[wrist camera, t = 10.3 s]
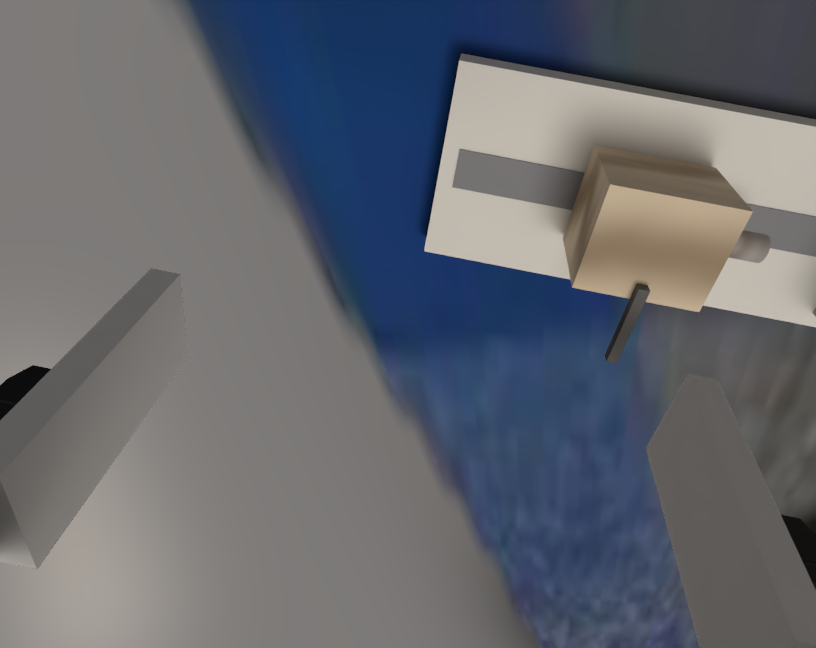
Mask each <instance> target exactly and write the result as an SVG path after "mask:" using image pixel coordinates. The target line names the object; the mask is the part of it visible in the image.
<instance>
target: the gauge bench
mask: <svg viewBox="0 0 816 648" xmlns="http://www.w3.org/2000/svg"><path fill="white" fill-rule="evenodd" d="M594 145H597V146H603V147H608V148H613V149H619V150H624V151H629V152H634V153H640V154H645V155H650V156H656V157H661V158H666V159H671V160H677V161H682V162H687V163H693V164H698V165H703V166H709V167H714V168H717V169H718V171H719V172H720V173H721V174H722V175H723V177H724V178H725V179H726V180H727V181H728V182H729V184H730V185H731V186H732V187H733V188H734V190H735V191H736V192H737V193H738V194H739V195H740V197H741V198H742V199H743V200H744V201H745V203H746V204H747V205H748V206H749V207H750V208H751V210H752V211H753V213H752V215H751V217H750V218H749V220H748V222H747V224H746V226H745V228H744V230H745V231H750V232H756V233H761V234H766V235H768V236H769V237H770V240H771V245H770V250H769V252H768V254H767V256H766V258H765V259H764V260H763V261H762V262H760V263H754V262H749V261H744V260H739V259H734V258H728V259H727V261H726V263H725V265H724V267H723V269H722V271H721V272H720V274H719V276H718V278H717V280H716V282H715V284H714V285H713V287H712V289H711V291H710V293H709V295H708V297H707V299H706V300H705V302H704V304H703V305H704V306H709V307H715V308H720V309H725V310H730V311H735V312H740V313H745V314H751V315H756V316H761V317H766V318H771V319H776V320H781V321H787V322H792V323H797V324H802V325H807V326H812V327H816V119H811V118H806V117H800V116H795V115H790V114H784V113H779V112H773V111H768V110H763V109H757V108H752V107H747V106H741V105H736V104H731V103H725V102H720V101H714V100H709V99H704V98H698V97H693V96H688V95H682V94H677V93H671V92H666V91H661V90H655V89H650V88H645V87H639V86H634V85H629V84H623V83H618V82H612V81H607V80H602V79H596V78H591V77H586V76H580V75H575V74H569V73H564V72H559V71H553V70H548V69H543V68H537V67H532V66H527V65H521V64H516V63H510V62H505V61H500V60H494V59H489V58H484V57H478V56H473V55H468V54H462V53H461V56H460V60H459V64H458V70H457V75H456V81H455V86H454V92H453V97H452V103H451V108H450V113H449V119H448V124H447V130H446V135H445V141H444V146H443V151H442V157H441V162H440V168H439V173H438V179H437V184H436V189H435V195H434V200H433V206H432V211H431V217H430V222H429V227H428V233H427V238H426V244H425V249H424V251H426V252H431V253H437V254H442V255H447V256H452V257H457V258H462V259H467V260H473V261H478V262H483V263H488V264H493V265H498V266H503V267H509V268H514V269H519V270H524V271H529V272H534V273H539V274H545V275H550V276H555V277H560V278H565V279H570V274H569V268H568V263H567V258H566V252H565V247H564V242H563V236H564V233H565V230H566V227H567V224H568V221H569V218H570V215H571V212H572V209H573V206H574V203H575V200H576V198H577V195H578V192H579V189H580V186H581V183H582V180H583V177H584V174H585V171H586V168H587V165H588V162H589V159H590V156H591V153H592V150H593V147H594ZM570 280H571V279H570Z"/></svg>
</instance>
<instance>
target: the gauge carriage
mask: <svg viewBox="0 0 816 648" xmlns="http://www.w3.org/2000/svg"><path fill="white" fill-rule="evenodd" d="M752 213H753V211H752V210H751V208H750V207H749V206H748V205H747V204H746V203H745V201H744V200H743V199H742V198H741V197H740V195H739V194H738V193H737V192H736V191H735V190H734V188H733V187H732V186H731V185H730V184H729V182H728V181H727V180H726V179H725V178H724V177H723V175H722V174H721V173H720V172H719V171H718V169H717V168H714V167H709V166H703V165H698V164H693V163H687V162H682V161H677V160H671V159H666V158H661V157H656V156H650V155H645V154H640V153H634V152H629V151H624V150H619V149H613V148H608V147H603V146H597V145H594V147H593V150H592V153H591V156H590V159H589V162H588V165H587V168H586V171H585V174H584V177H583V180H582V183H581V186H580V189H579V192H578V195H577V198H576V200H575V203H574V206H573V209H572V212H571V215H570V218H569V221H568V224H567V227H566V230H565V233H564V236H563V242H564V247H565V252H566V258H567V263H568V268H569V274H570V279H571V284H572V288H577V289H583V290H588V291H593V292H598V293H603V294H608V295H613V296H619V297H624V298H629V299H630V300H629V302H628V304H627V307H626V309H625V311H624V313H623V316H622V318H621V320H620V322H619V325H618V327H617V329H616V331H615V334H614V336H613V338H612V340H611V343H610V345H609V347H608V349H607V352H606V354H605V357H606V361H607V362H612V363H617V362H618V360H619V358H620V355H621V353H622V351H623V349H624V347H625V345H626V343H627V340H628V338H629V336H630V334H631V332H632V330H633V327H634V325H635V323H636V321H637V319H638V317H639V315H640V312H641V310H642V308H643V306H644V304H645V302H649V303H655V304H660V305H665V306H670V307H675V308H680V309H685V310H691V311H696V312H700V310H701V308H702V306H703V304H704V302H705V300H706V299H707V297H708V295H709V293H710V291H711V289H712V287H713V285H714V284H715V282H716V280H717V278H718V276H719V274H720V272H721V271H722V269H723V267H724V265H725V263H726V261H727V259H728V258H734V259H739V260H744V261H749V262H754V263H760V262H762V261H763V260H764V259H765V258H766V256H767V254H768V252H769V250H770V245H771V240H770V237H769V236H768V235H766V234H761V233H756V232H750V231H745V230H744V228H745V226H746V224H747V222H748V220H749V218H750V217H751V215H752Z"/></svg>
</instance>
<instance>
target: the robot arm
mask: <svg viewBox="0 0 816 648" xmlns="http://www.w3.org/2000/svg"><path fill="white" fill-rule="evenodd" d="M187 358H188V349H187V339H186V328H185V318H184V309H183V297H182V288H181V277H180V274H177V273H172V272H166V271H162V270H157V269H152V268H151V269H150V270H149V271H148V272H147V273H146V274H145V275H144V276H143V277H142V278H141V279H140V280H139V281H138V282H137V283H136V284H135V285H134V286H133V287H132V288H131V289H130V290H129V291H128V292H127V294H125V295H124V296H123V298H122V299H120V300H119V301H118V302H117V303H116V304H115V305H114V306H113V307H112V309H111V310H110V311H108V313H106V315H104V316H103V318H102V319H101V320H100V321H99V322H98V323H97V324H96V325H95V326H94V327H93V328H92V329H91V330H90V331H89V332H88V333H87V334H86V335H85V336H84V337H83V338H82V339H81V340H80V341H79V342H78V343H77V344H76V345H75V346H74V347H73V348H72V349H71V350H70V351H69V352H68V353H67V354H66V355H65V356H64V357H63V358H62V359H61V360H60V361H59V362H58V363H57V364H56V365H55V366H54V367H53V368H52V369H48V368H43V367H39V366H34V365H33V366H31V367H29V368H27V369H25V370H23V371H22V372H19V373H17V374H16V375H14V376H12V377H10V378H8V379H7V380H6V381H5V382H4V383H3V384H1V385H0V562H3V563H8V564H13V565H17V566H23V567H27V568H32V569H38V568H39V566H40V565H41V563H42V562H43V561H44V559H45V558H46V556H47V555H48V554H49V552H50V550H51V549H52V548H53V547H54V545H55V544H56V542H57V541H58V540H59V538H60V537H61V535H62V534H63V532H64V531H65V530H66V528H67V527H68V525H69V524H70V523H71V521H72V520H73V518H74V517H75V516H76V514H77V513H78V511H79V510H80V509H81V507H82V506H83V504H84V503H85V501H86V500H87V499H88V497H89V496H90V494H91V493H92V492H93V490H94V489H95V487H96V486H97V484H98V483H99V482H100V480H101V479H102V478H103V476H104V475H105V473H106V472H107V470H108V469H109V468H110V466H111V465H112V463H113V462H114V461H115V459H116V458H117V456H118V455H119V454H120V452H121V451H122V449H123V448H124V447H125V445H126V443H127V442H128V441H129V439H130V438H131V436H132V435H133V434H134V432H135V431H136V430H137V428H138V427H139V425H140V424H141V423H142V421H143V420H144V418H145V417H146V415H147V414H148V413H149V411H150V410H151V408H152V407H153V406H154V404H155V403H156V401H157V400H158V399H159V397H160V396H161V394H162V393H163V392H164V390H165V389H166V387H167V386H168V385H169V383H170V382H171V380H172V379H173V377H174V376H175V375H176V373H177V372H178V370H179V369H180V368H181V366H182V365H183V363H184V362H185V361H186V359H187ZM646 450H647V454H648V458H649V461H650V465H651V469H652V473H653V476H654V480H655V484H656V487H657V491H658V495H659V498H660V502H661V506H662V510H663V513H664V517H665V521H666V524H667V528H668V532H669V536H670V539H671V543H672V547H673V550H674V554H675V558H676V561H677V565H678V569H679V573H680V576H681V580H682V584H683V587H684V591H685V595H686V598H687V602H688V606H689V610H690V613H691V617H692V621H693V624H694V628H695V632H696V635H697V639H698V643H699V647H700V648H816V536H815V535H814V534H813V533H812V532H811V530H810V529H809V528H808V527H807V526H806V525H805V524H804V523H803V521H802V520H801V519H799V518H794V517H789V516H784V515H781V514H780V512H779V510H778V508H777V506H776V504H775V501H774V499H773V497H772V495H771V493H770V491H769V488H768V486H767V484H766V482H765V480H764V478H763V476H762V473H761V471H760V469H759V467H758V465H757V463H756V460H755V458H754V456H753V454H752V452H751V450H750V448H749V445H748V443H747V441H746V439H745V437H744V435H743V433H742V430H741V428H740V426H739V424H738V422H737V420H736V417H735V415H734V413H733V411H732V409H731V407H730V405H729V402H728V400H727V398H726V396H725V394H724V392H723V389H722V387H721V385H720V383H719V381H718V380H715V379H710V378H705V377H700V376H695V375H690V374H688V375H687V377H686V378H685V380H684V382H683V384H682V385H681V387H680V389H679V391H678V392H677V394H676V396H675V398H674V400H673V401H672V403H671V405H670V407H669V408H668V410H667V412H666V414H665V415H664V417H663V419H662V421H661V422H660V424H659V426H658V428H657V430H656V431H655V433H654V435H653V437H652V438H651V440H650V442H649V444H648V445H647V447H646Z"/></svg>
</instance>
